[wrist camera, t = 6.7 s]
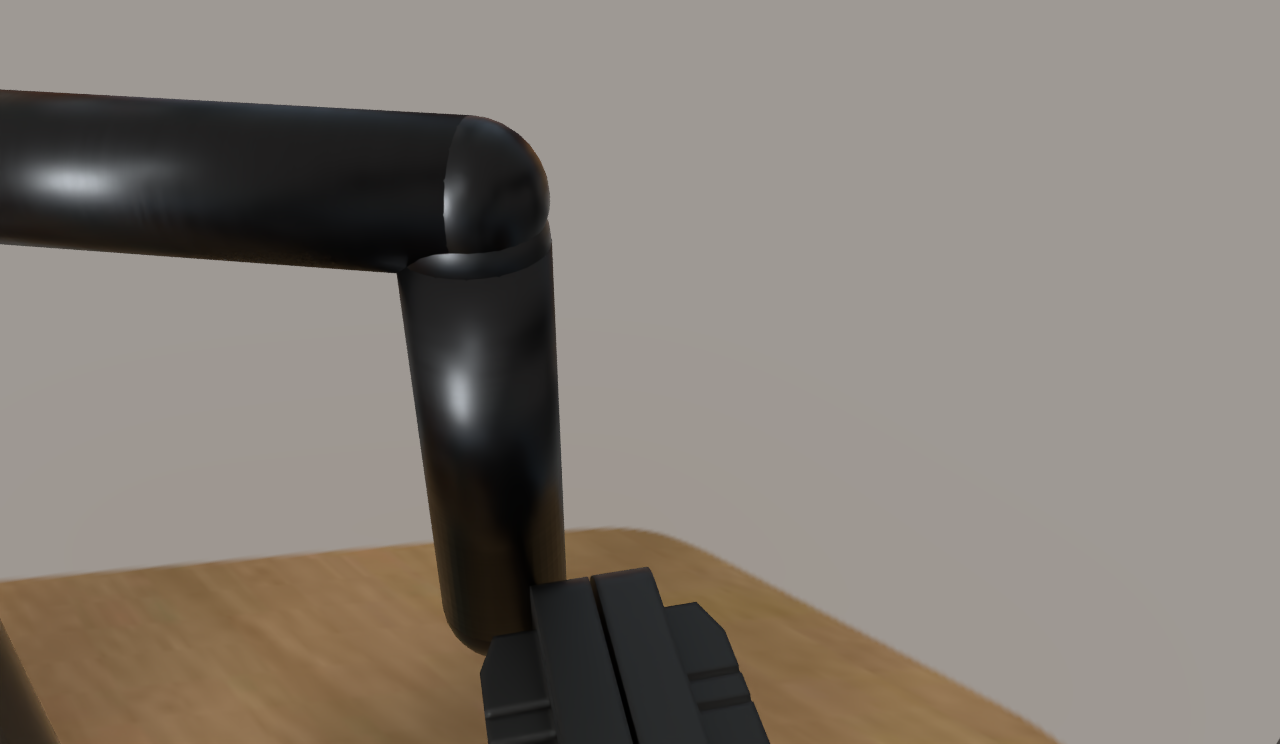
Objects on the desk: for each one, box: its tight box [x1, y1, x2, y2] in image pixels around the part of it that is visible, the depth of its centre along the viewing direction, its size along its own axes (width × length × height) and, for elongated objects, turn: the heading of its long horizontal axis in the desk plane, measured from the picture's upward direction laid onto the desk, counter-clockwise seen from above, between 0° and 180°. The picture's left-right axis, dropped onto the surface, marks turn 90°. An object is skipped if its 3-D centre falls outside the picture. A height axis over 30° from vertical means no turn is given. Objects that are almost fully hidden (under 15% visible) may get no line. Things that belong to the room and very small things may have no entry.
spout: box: [0, 90, 566, 656], centre depth 11 cm, size 12×3×9 cm, turn 82°
